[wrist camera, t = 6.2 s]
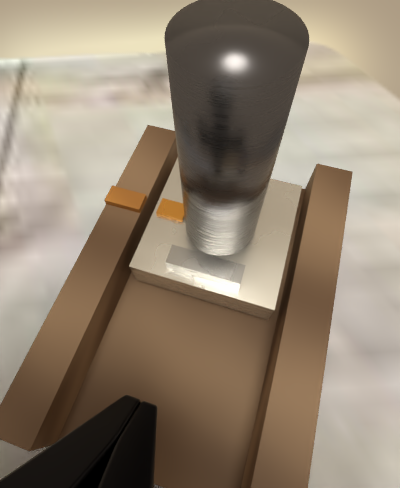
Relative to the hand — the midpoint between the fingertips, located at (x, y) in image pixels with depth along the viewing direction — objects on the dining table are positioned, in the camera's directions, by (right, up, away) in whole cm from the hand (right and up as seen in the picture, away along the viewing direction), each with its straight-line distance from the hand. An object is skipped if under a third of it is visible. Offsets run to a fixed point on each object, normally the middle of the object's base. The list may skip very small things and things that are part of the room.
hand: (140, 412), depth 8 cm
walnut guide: (+2, +1, +7) cm, 8 cm away
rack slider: (+2, +4, +8) cm, 9 cm away
